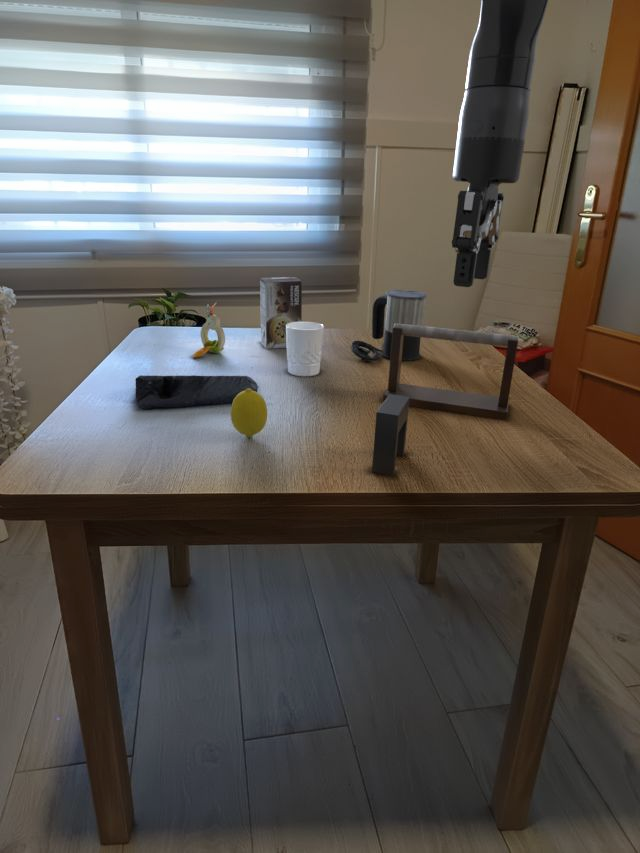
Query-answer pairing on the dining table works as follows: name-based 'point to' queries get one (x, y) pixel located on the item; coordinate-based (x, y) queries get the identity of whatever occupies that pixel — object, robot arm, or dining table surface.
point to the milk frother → (399, 310)
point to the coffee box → (279, 308)
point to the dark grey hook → (390, 433)
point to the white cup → (304, 347)
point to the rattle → (208, 345)
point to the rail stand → (449, 398)
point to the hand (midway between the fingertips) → (470, 282)
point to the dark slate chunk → (189, 390)
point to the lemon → (249, 412)
